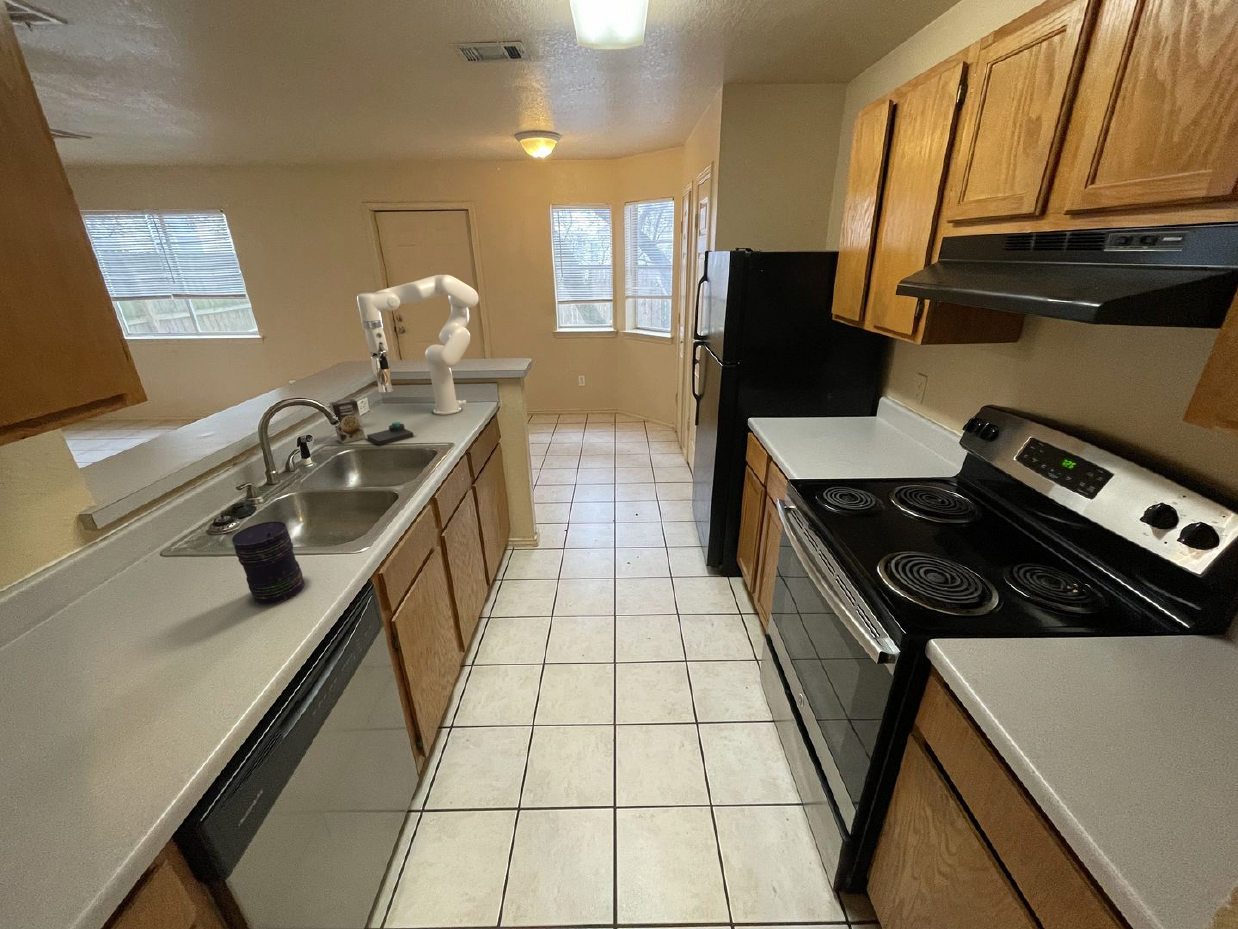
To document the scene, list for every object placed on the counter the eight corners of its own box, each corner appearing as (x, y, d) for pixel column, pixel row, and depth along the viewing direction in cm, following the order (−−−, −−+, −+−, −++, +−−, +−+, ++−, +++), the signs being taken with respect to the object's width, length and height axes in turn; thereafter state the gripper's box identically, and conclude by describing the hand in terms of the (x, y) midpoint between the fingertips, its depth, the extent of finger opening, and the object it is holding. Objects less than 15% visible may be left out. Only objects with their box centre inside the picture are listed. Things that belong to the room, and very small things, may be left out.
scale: (401, 430, 218) (400, 422, 217) (414, 436, 210) (413, 428, 209) (367, 439, 209) (365, 430, 207) (379, 445, 201) (377, 437, 199)
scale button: (398, 424, 215) (397, 421, 214) (401, 426, 213) (400, 422, 212) (391, 426, 213) (390, 423, 213) (394, 428, 211) (393, 424, 211)
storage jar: (242, 599, 110) (219, 540, 104) (285, 574, 118) (265, 518, 112) (274, 609, 106) (252, 548, 100) (315, 583, 115) (297, 525, 109)
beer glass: (373, 392, 217) (366, 357, 211) (385, 388, 223) (378, 354, 217) (386, 393, 215) (379, 358, 209) (398, 389, 221) (391, 355, 215)
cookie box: (342, 444, 204) (332, 405, 198) (338, 440, 208) (328, 402, 202) (366, 438, 209) (357, 400, 203) (361, 435, 214) (352, 397, 208)
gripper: (390, 325, 205) (398, 369, 212) (374, 322, 217) (382, 364, 223) (370, 327, 200) (380, 372, 207) (355, 324, 212) (365, 367, 219)
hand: (381, 367), depth 215 cm, fingers closed on beer glass, 7 cm apart
